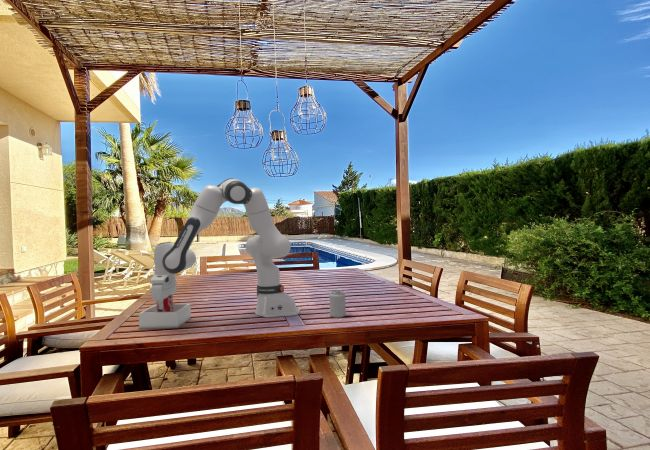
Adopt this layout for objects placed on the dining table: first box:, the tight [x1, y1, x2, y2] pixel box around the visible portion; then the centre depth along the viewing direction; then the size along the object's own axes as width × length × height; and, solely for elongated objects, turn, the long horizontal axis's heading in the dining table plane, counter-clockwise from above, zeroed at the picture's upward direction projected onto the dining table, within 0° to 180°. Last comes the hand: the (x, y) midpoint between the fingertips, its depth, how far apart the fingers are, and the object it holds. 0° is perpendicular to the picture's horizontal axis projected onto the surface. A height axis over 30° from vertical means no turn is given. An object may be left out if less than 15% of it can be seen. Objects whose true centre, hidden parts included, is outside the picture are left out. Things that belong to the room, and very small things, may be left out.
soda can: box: [156, 295, 174, 312], centre depth 174 cm, size 7×7×12 cm
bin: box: [138, 303, 192, 330], centre depth 174 cm, size 17×17×7 cm
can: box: [329, 289, 347, 319], centre depth 179 cm, size 8×8×12 cm
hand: (165, 306), depth 174 cm, fingers open, 8 cm apart
